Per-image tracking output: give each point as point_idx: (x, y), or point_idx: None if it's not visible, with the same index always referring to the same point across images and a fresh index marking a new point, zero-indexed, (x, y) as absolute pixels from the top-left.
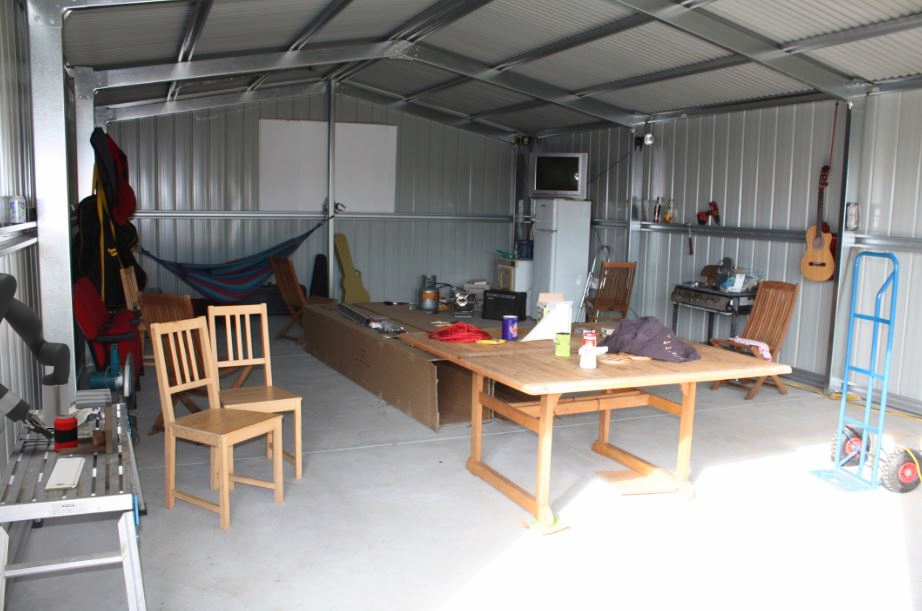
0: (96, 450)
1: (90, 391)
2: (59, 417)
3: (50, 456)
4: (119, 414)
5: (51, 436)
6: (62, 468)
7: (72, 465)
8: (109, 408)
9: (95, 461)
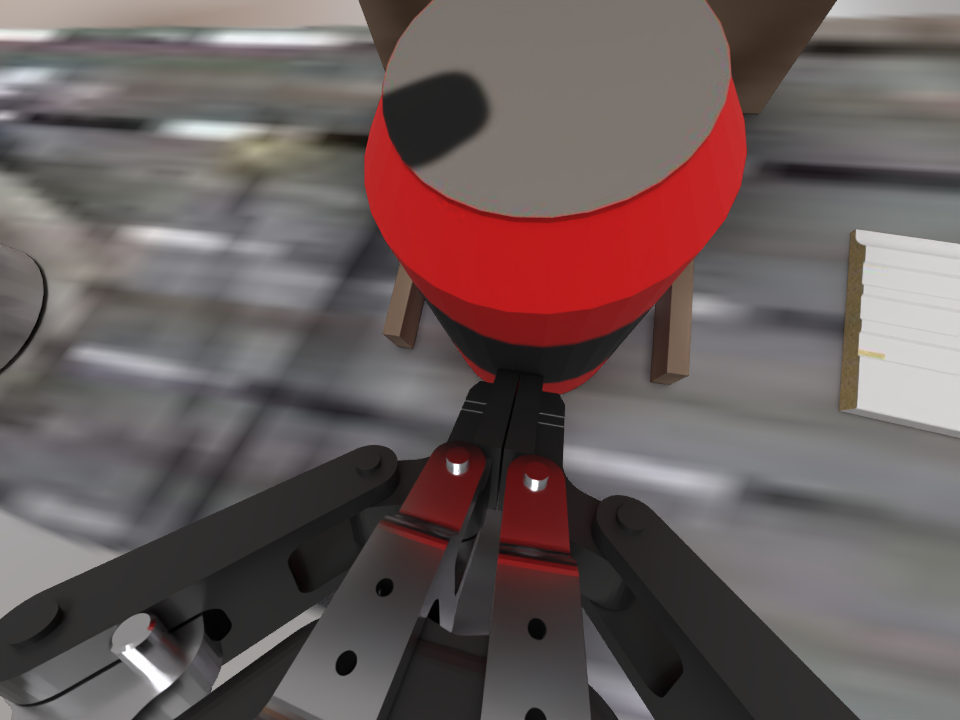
0: None
1: None
2: (555, 167)
3: (675, 446)
4: (14, 32)
5: (559, 403)
6: None
7: None
8: None
9: (934, 181)
